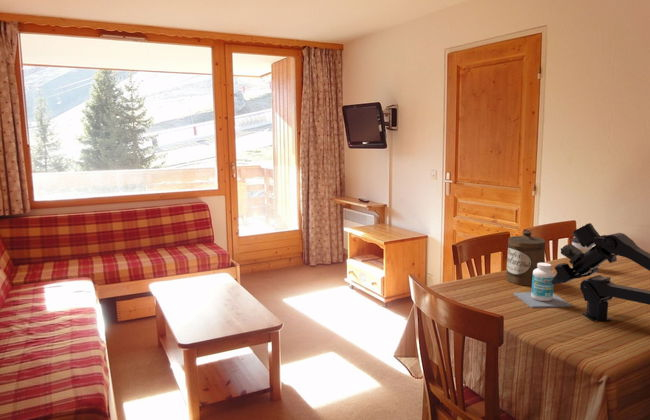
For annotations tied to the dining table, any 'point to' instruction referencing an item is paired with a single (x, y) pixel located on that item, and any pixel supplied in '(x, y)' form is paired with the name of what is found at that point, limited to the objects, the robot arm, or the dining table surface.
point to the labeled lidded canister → (524, 258)
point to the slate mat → (534, 303)
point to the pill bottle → (542, 282)
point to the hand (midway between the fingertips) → (559, 281)
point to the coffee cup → (579, 245)
